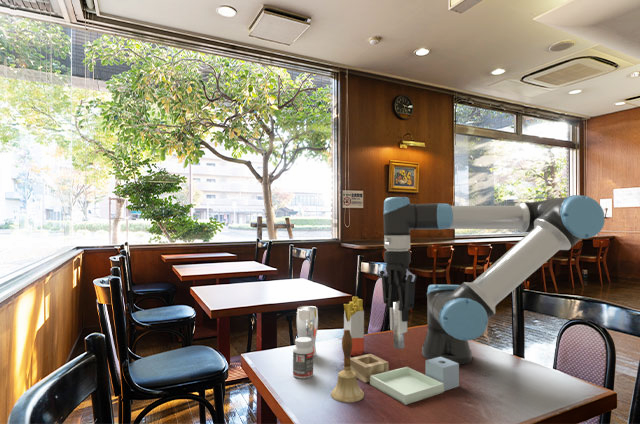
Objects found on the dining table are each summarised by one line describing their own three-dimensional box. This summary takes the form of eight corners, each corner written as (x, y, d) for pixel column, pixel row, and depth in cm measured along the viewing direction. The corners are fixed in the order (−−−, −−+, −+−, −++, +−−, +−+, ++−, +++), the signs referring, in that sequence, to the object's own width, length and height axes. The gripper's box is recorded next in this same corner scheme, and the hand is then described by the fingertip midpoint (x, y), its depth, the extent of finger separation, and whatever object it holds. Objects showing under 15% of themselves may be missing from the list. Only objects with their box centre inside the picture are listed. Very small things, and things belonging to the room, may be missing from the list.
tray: (406, 374, 107) (406, 366, 107) (444, 392, 96) (443, 383, 96) (370, 384, 100) (370, 375, 100) (405, 404, 89) (405, 395, 89)
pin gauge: (399, 344, 112) (398, 300, 112) (406, 347, 109) (405, 302, 110) (391, 346, 110) (390, 301, 111) (398, 349, 108) (398, 303, 108)
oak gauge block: (370, 367, 112) (370, 353, 112) (388, 376, 105) (388, 362, 105) (348, 372, 108) (348, 358, 108) (365, 382, 101) (365, 367, 101)
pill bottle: (310, 380, 103) (310, 343, 103) (290, 378, 104) (290, 341, 104) (315, 372, 108) (315, 337, 109) (295, 370, 110) (296, 335, 110)
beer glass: (291, 354, 123) (292, 308, 123) (307, 349, 128) (307, 304, 128) (307, 360, 118) (307, 311, 118) (322, 354, 123) (322, 308, 124)
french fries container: (350, 358, 119) (350, 301, 120) (342, 347, 130) (342, 295, 130) (364, 358, 120) (364, 301, 120) (355, 347, 131) (355, 294, 131)
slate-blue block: (441, 378, 105) (440, 356, 105) (458, 386, 99) (458, 363, 100) (425, 383, 101) (425, 360, 102) (443, 391, 96) (443, 367, 97)
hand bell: (324, 396, 93) (324, 330, 94) (344, 385, 100) (344, 324, 100) (351, 406, 88) (351, 337, 89) (370, 394, 94) (370, 329, 95)
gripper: (370, 249, 116) (371, 326, 115) (407, 252, 102) (408, 340, 101) (388, 248, 119) (390, 323, 119) (426, 250, 106) (428, 335, 105)
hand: (398, 330), depth 110 cm, fingers closed on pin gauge, 3 cm apart
